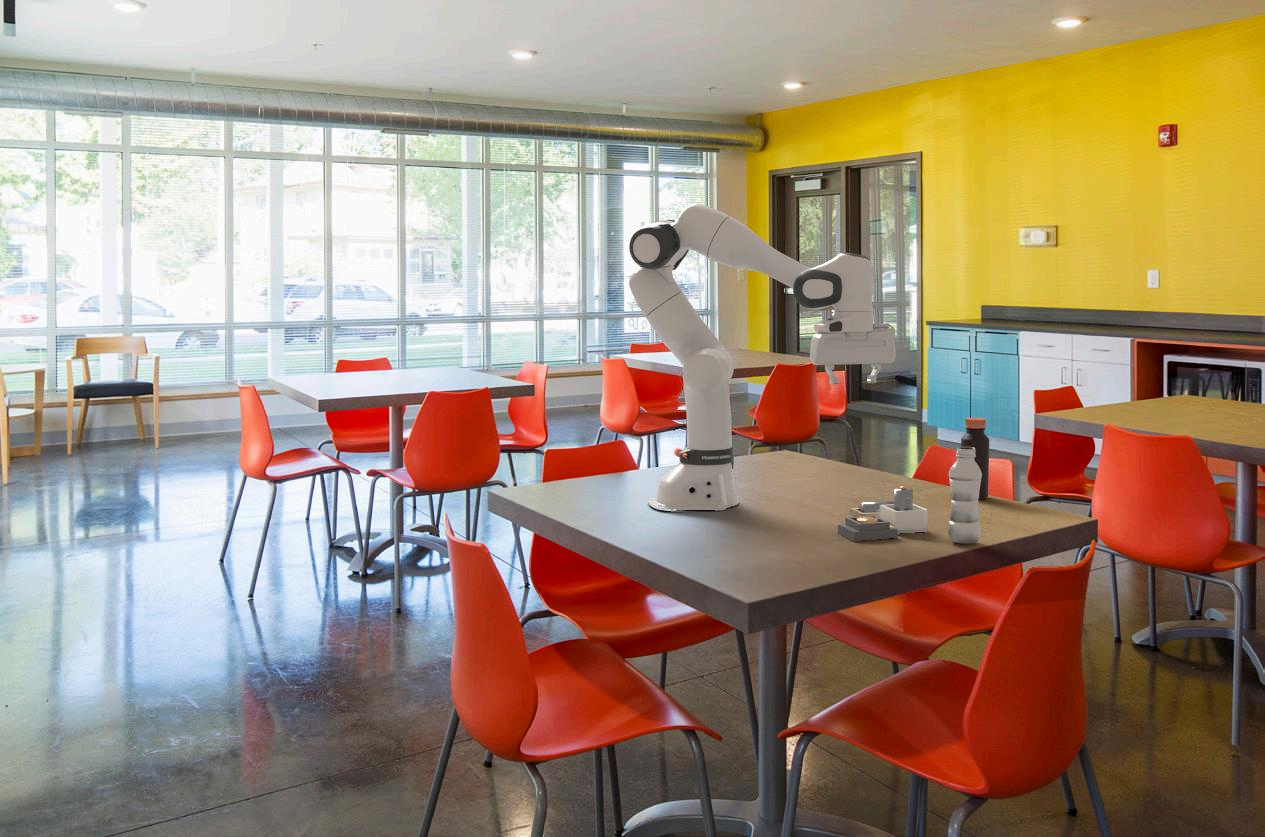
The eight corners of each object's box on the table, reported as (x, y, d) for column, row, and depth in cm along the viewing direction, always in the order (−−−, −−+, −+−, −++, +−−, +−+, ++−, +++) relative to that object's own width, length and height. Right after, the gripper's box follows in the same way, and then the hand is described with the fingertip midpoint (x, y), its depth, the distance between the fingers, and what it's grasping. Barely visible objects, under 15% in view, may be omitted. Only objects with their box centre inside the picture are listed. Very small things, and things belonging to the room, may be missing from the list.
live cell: (865, 522, 237) (866, 504, 237) (858, 518, 241) (858, 501, 241) (901, 519, 239) (901, 502, 239) (892, 516, 243) (893, 499, 243)
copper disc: (862, 525, 225) (862, 521, 225) (852, 521, 229) (852, 517, 229) (882, 524, 226) (882, 520, 226) (872, 519, 230) (872, 516, 230)
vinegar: (988, 495, 269) (990, 417, 266) (987, 500, 263) (989, 420, 260) (961, 494, 271) (962, 416, 269) (958, 499, 265) (960, 419, 263)
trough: (861, 527, 236) (862, 513, 236) (850, 521, 242) (850, 508, 242) (907, 523, 239) (907, 510, 238) (894, 518, 245) (894, 505, 244)
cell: (898, 527, 231) (899, 488, 230) (890, 524, 234) (890, 485, 233) (915, 526, 231) (916, 487, 230) (907, 522, 235) (907, 484, 234)
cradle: (853, 541, 223) (853, 525, 223) (837, 533, 231) (838, 517, 230) (897, 538, 225) (897, 522, 225) (880, 530, 233) (880, 514, 233)
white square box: (895, 534, 229) (895, 511, 228) (879, 527, 236) (879, 505, 235) (927, 532, 230) (927, 509, 230) (910, 524, 238) (911, 503, 237)
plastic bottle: (987, 545, 218) (989, 449, 215) (958, 548, 216) (960, 451, 213) (969, 538, 224) (971, 445, 222) (940, 541, 222) (942, 446, 220)
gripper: (888, 322, 250) (887, 381, 251) (807, 324, 245) (806, 383, 247) (901, 323, 243) (900, 383, 245) (818, 325, 239) (817, 386, 240)
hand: (852, 383), depth 246 cm, fingers open, 8 cm apart
